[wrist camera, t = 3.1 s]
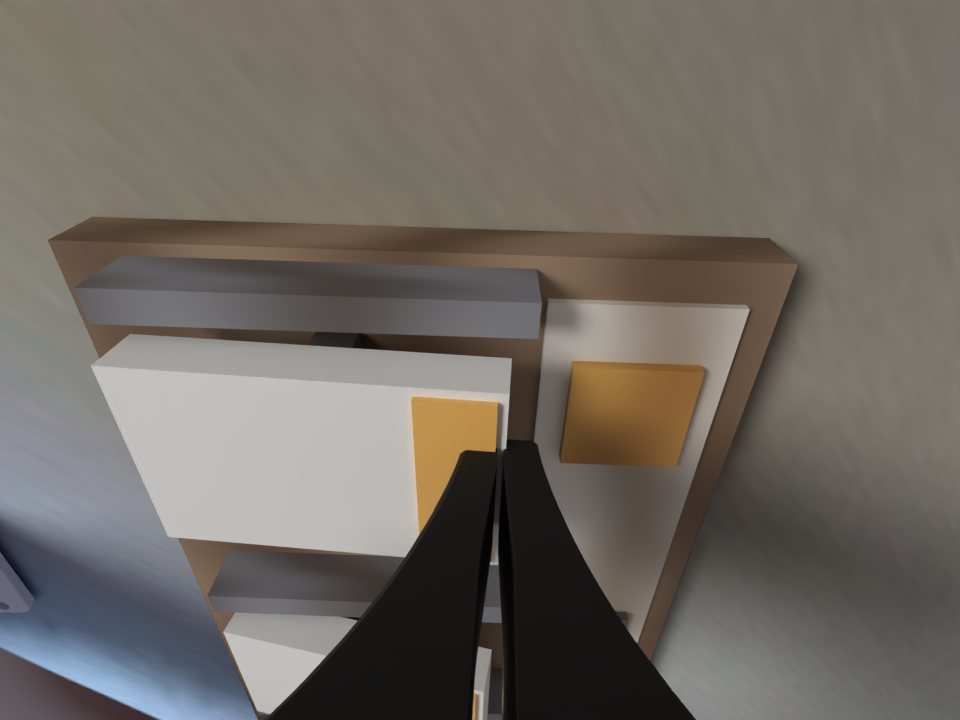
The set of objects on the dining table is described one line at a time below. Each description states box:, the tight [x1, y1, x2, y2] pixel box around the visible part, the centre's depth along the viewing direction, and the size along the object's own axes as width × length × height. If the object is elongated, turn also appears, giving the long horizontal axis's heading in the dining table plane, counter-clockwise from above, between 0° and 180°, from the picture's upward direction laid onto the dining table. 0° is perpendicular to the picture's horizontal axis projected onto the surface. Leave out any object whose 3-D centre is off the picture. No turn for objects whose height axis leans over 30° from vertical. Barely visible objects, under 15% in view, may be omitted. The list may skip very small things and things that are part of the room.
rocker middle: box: [223, 613, 492, 720], centre depth 17 cm, size 8×5×1 cm, turn 88°
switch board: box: [48, 217, 798, 720], centre depth 19 cm, size 16×28×3 cm, turn 179°
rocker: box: [91, 334, 512, 565], centre depth 12 cm, size 8×5×1 cm, turn 89°
